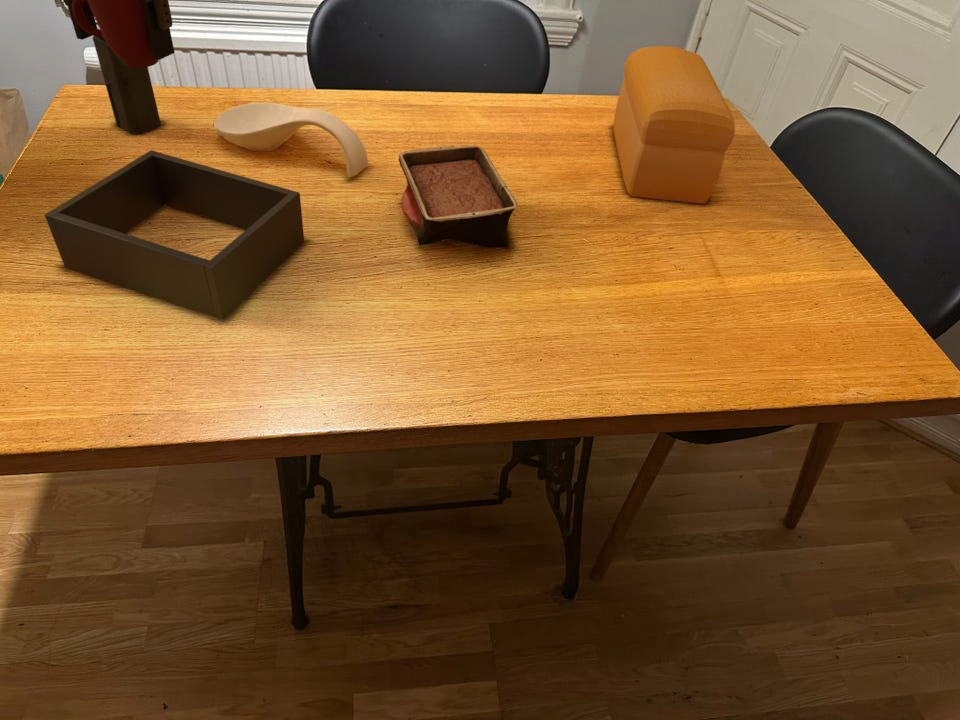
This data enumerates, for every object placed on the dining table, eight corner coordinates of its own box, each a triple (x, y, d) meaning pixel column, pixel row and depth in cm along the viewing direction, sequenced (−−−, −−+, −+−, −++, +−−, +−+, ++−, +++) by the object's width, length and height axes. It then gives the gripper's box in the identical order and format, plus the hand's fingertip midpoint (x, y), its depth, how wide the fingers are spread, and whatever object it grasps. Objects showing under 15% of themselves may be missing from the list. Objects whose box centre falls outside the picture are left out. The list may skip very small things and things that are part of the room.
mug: (72, 71, 82) (43, -23, 75) (95, 46, 87) (70, -43, 80) (166, 77, 83) (146, -15, 76) (182, 51, 89) (165, -36, 82)
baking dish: (406, 274, 88) (417, 212, 80) (391, 183, 98) (398, 121, 90) (515, 275, 92) (534, 216, 84) (489, 187, 102) (504, 128, 94)
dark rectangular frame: (64, 267, 79) (43, 214, 75) (163, 199, 91) (150, 149, 87) (223, 320, 75) (212, 267, 71) (304, 241, 87) (300, 192, 83)
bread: (710, 205, 104) (746, 107, 93) (625, 196, 103) (651, 97, 93) (683, 132, 121) (710, 43, 111) (610, 125, 121) (630, 35, 111)
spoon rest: (200, 147, 102) (191, 99, 97) (250, 118, 110) (243, 72, 106) (340, 191, 97) (338, 142, 92) (381, 157, 105) (381, 111, 100)
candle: (113, 124, 105) (60, -65, 88) (143, 114, 108) (97, -71, 91) (134, 135, 103) (84, -56, 86) (164, 125, 106) (121, -62, 89)
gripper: (-57, -202, 68) (24, 34, 83) (139, -165, 64) (186, 77, 79) (7, -205, 73) (71, 17, 89) (191, -172, 69) (226, 56, 84)
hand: (125, 45), depth 84 cm, fingers closed on mug, 10 cm apart
